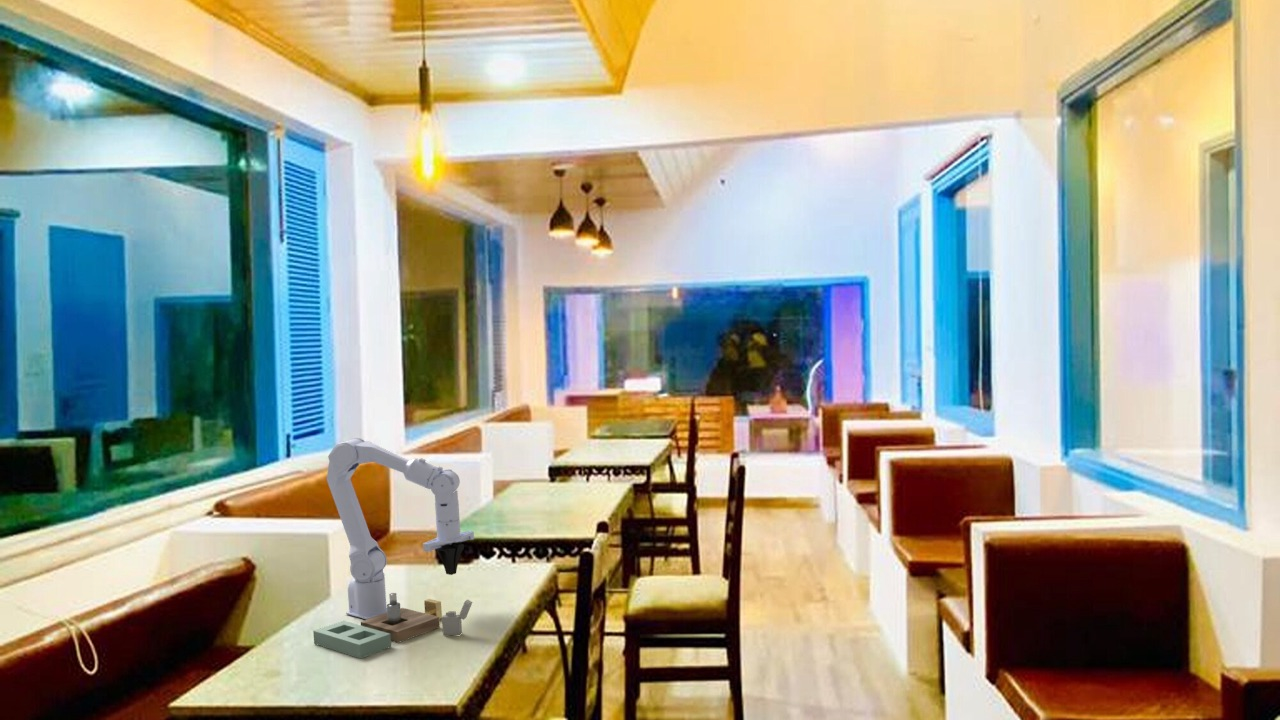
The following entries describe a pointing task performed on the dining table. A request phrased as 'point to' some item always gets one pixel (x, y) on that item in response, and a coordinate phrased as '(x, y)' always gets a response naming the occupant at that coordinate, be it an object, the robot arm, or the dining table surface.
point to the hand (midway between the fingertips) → (451, 573)
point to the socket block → (404, 624)
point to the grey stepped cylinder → (393, 610)
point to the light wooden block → (433, 607)
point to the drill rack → (352, 639)
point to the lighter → (455, 620)
